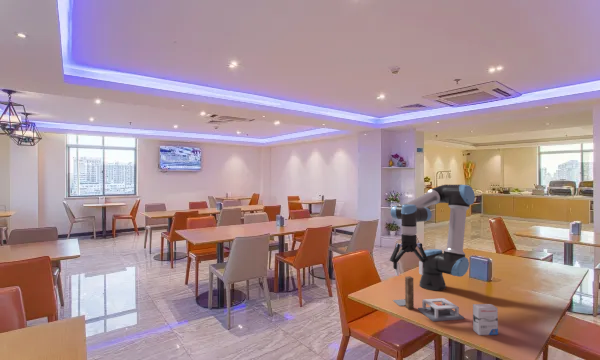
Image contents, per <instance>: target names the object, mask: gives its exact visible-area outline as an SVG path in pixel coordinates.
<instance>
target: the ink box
mask: <svg viewBox="0 0 600 360" xmlns="http://www.w3.org/2000/svg"><path fill="white" fill-rule="evenodd" d="M498 313H499V311H498V307H496V306H495V305H494V304H492V303H476V304H475V303H472V329H473V330H472V331H473V332H475V333H476V334H477V335H478V336H495V335H499V317H498V315H499V314H498Z"/></svg>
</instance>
